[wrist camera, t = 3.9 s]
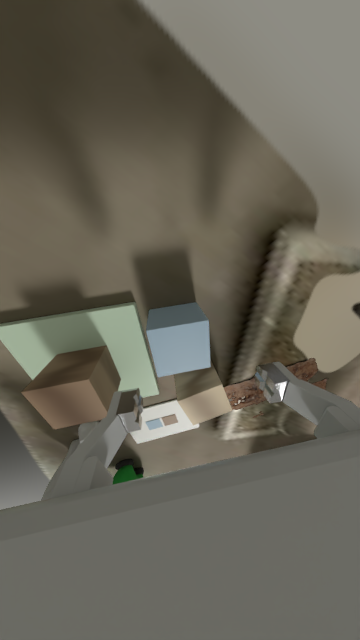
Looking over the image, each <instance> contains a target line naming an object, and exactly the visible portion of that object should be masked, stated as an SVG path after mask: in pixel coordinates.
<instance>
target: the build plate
mask: <svg viewBox="0 0 360 640" xmlns="http://www.w3.org/2000/svg"><path fill="white" fill-rule="evenodd" d="M0 340H1V341H2V342H3V344H4V345H5V346H6V347H7V349H8V350H9V351H10V352H11V354H12V355H13V356H14V357H15V359H16V360H17V361H18V362H19V364H20V365H21V366H22V367H23V369H24V370H25V371H26V372H27V374H28V375H29V376H30V377H31V379H32V380H33V379H34V378H35V377H36V376H37V375H38V374H39V373H40V372H41V371H42V370H43V369H44V368H45V367H46V365H47V364H48V363H49V362H50V361H51V360H52V359H53V358H54V357H55V356H56V355H57V354H61V353H66V352H72V351H78V350H83V349H89V348H94V347H100V346H105V345H107V347H108V350H109V352H110V354H111V357H112V359H113V361H114V364H115V366H116V368H117V371H118V373H119V375H120V378H121V381H120V385H119V389H118V391H123V390H129V389H135V388H139V390H140V395H141V396H142V398H143V397H148V396H153V395H158V394H159V386H158V382H157V379H156V375H155V371H154V368H153V364H152V360H151V357H150V353H149V350H148V346H147V342H146V339H145V335H144V331H143V328H142V324H141V321H140V317H139V313H138V310H137V306H136V303H135V302H130V303H124V304H118V305H112V306H106V307H99V308H93V309H87V310H81V311H75V312H69V313H63V314H57V315H51V316H45V317H38V318H32V319H26V320H20V321H14V322H8V323H2V324H0Z"/></svg>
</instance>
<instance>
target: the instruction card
mask: <svg viewBox="0 0 360 640" xmlns="http://www.w3.org/2000/svg"><path fill="white" fill-rule="evenodd" d="M141 417H142V425H141V430H137V431H133V432H130V434H131V435H132V437H133V438H134V440H135V441H136V443H137V444H139V443H143V442H146V441H150V440H154V439H157V438H161V437H165V436H168V435H172V434H175V433H179V432H183V431H186V430H190V429H194V428H197V427H199V423H198V424H196V425H193V424H192V423H191V421H190V420H189V418H188V417H187V415H186V414H185V412H184V411H183V409H182V408H181V406H180V405H179V403H178V402H177V399H175V400H172V401H168V402H164V403H160V404H157V405H153V406H149V407H145V408H143V412H142V413H141Z"/></svg>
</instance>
